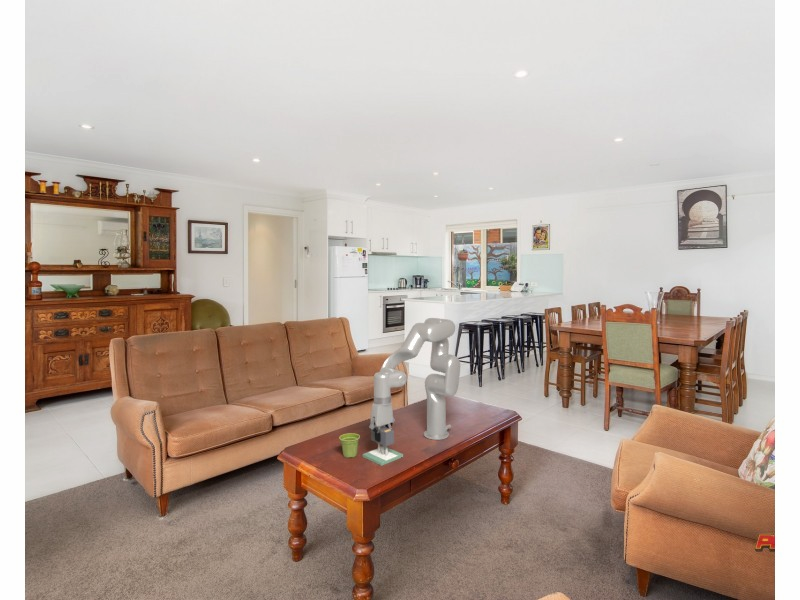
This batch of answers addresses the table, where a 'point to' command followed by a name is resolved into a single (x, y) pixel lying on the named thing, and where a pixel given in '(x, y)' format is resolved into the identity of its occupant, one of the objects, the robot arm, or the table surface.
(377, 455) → the header board
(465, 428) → the table surface
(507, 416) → the table surface
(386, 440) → the block
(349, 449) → the plant pot
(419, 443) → the table surface
